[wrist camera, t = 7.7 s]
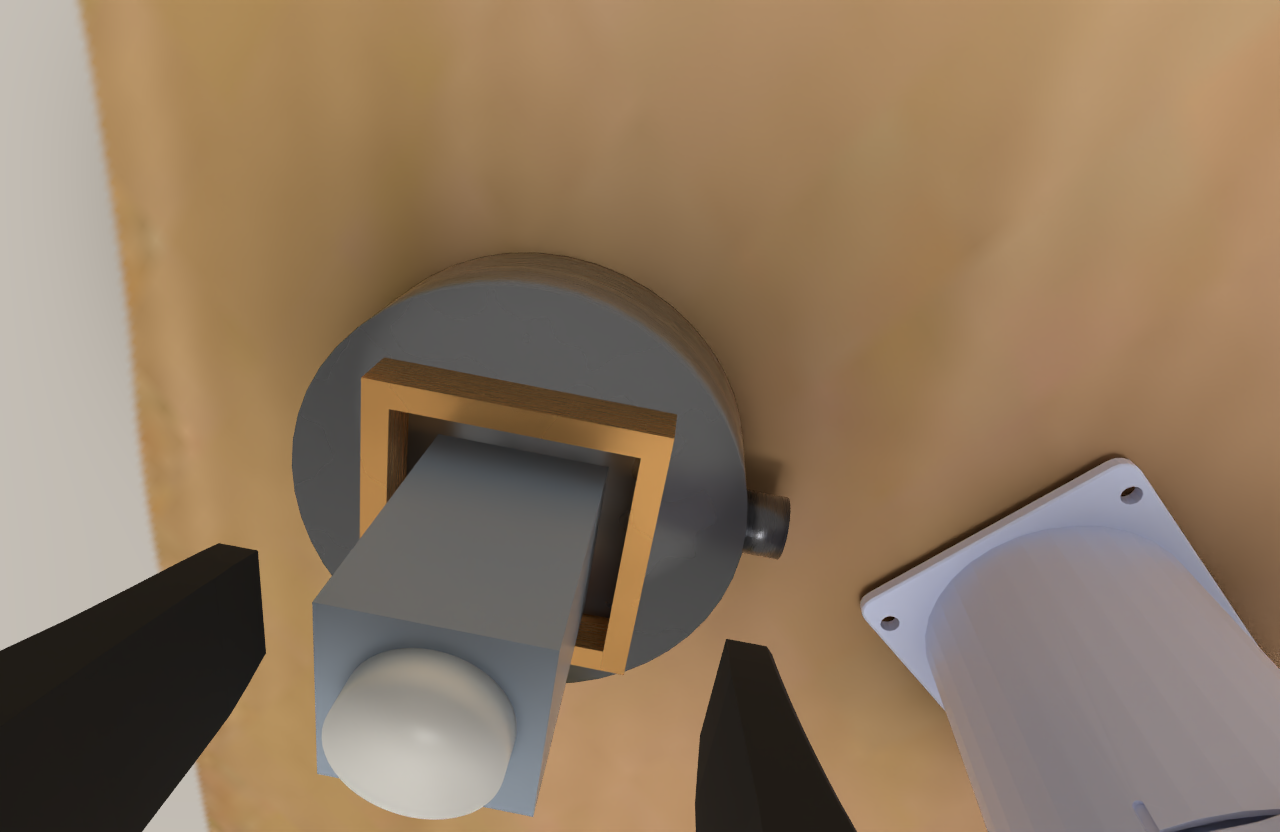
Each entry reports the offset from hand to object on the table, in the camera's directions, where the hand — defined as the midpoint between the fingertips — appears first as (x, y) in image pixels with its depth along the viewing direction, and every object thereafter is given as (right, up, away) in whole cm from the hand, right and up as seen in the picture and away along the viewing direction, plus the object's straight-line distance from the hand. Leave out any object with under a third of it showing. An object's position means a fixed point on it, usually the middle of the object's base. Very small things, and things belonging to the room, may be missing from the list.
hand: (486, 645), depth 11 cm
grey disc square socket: (0, +3, +9) cm, 10 cm away
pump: (-1, +1, +7) cm, 7 cm away
